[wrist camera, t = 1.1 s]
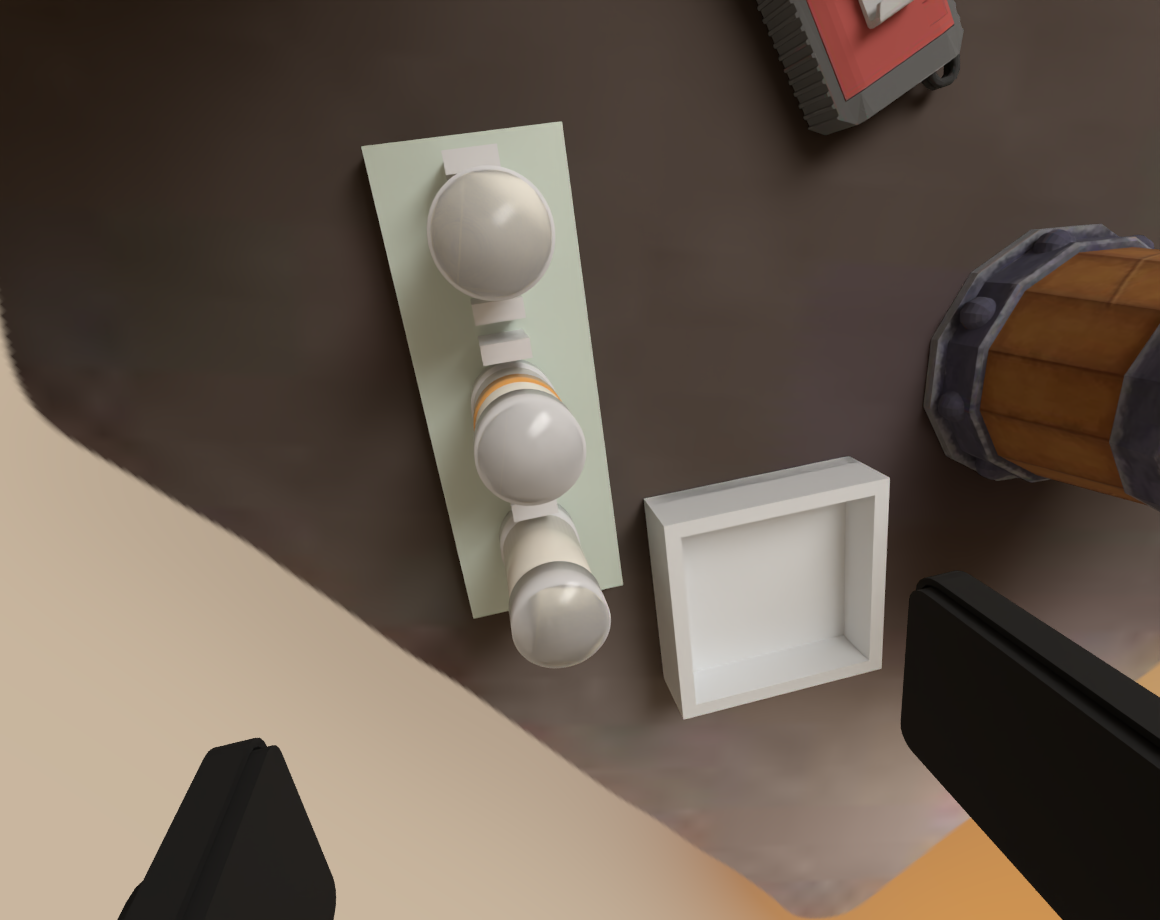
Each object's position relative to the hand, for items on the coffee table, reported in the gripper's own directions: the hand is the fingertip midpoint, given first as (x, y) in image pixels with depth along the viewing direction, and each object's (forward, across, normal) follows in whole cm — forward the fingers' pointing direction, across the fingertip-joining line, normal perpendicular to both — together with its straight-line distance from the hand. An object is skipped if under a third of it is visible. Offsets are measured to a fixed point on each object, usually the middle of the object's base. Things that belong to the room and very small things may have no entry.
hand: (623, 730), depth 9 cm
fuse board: (+22, 0, 0) cm, 22 cm away
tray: (+22, -12, +13) cm, 28 cm away
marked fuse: (+21, 0, 0) cm, 21 cm away
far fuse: (+20, 0, +7) cm, 22 cm away
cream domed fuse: (+21, 0, -7) cm, 22 cm away
